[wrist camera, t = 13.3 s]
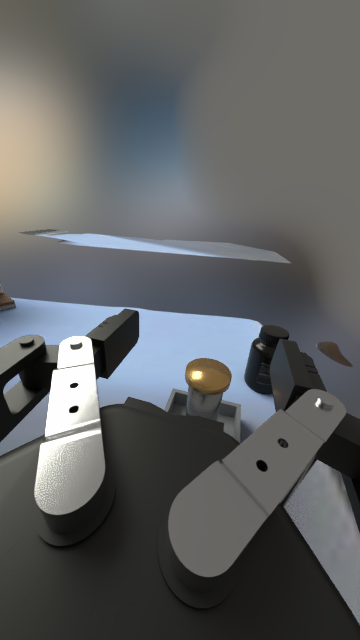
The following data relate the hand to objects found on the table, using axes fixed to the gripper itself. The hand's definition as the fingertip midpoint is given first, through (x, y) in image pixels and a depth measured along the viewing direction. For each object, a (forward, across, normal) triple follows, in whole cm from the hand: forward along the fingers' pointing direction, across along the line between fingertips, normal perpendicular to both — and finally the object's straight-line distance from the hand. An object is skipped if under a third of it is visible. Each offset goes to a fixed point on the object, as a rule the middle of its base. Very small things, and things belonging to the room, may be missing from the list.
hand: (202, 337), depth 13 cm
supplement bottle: (+26, -11, +24) cm, 37 cm away
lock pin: (+10, -1, +23) cm, 25 cm away
